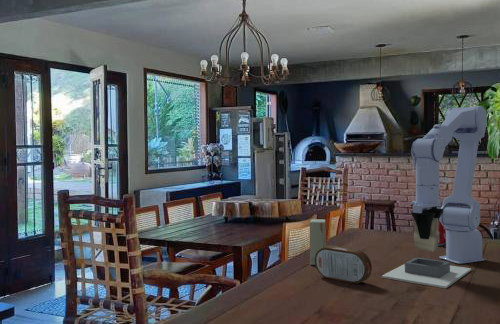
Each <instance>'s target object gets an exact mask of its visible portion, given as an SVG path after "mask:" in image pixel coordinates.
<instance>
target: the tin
mask: <svg viewBox="0 0 500 324" xmlns="http://www.w3.org/2000/svg"><path fill="white" fill-rule="evenodd" d="M314 266H315V268H316V270H317V272H318V273H319V275H321V276H322V277H323V278H325V279H328V280H335V281H339V282H343V283H348V282H349V284H353V283H355V284H356V285H357V284H360V283H362V282H365V281H366V280H368V279H369V278H370V276H371V274H372V271H373V266H372V262H371V259H370V257H369V255H368V254H367V253H366V252H364V251H363V250H361V249H358V248H354V247H347V246H339V245H333V244H326V246H324V247H323V248H321V249H319V250H318V251H317V253H316V255H315V265H314Z"/></svg>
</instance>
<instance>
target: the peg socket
mask: <svg viewBox="0 0 500 324" xmlns="http://www.w3.org/2000/svg"><path fill="white" fill-rule="evenodd" d="M471 271H472V268H471V267H470V268H469V267H465V266H464V267H463V266H458V265H457V266H455V265H451V261H447V260H446V261H445V260H437V259H431V258H424V257H418V256H415V257H414V258H411V259H410V260H408V261H405V263H404V264H402V265H400V266H398V267H395V268H394V269H392V270H390V271H388V272H385V273H384V274H383V275H381V278H382V279H383V278H384V279H389V280H395V281H399V282H405V283H412V284H416V285H423V286H427V287H428V286H430V287H434V288H441V289H447V288H449V287H450V286H452V285H453V284H455V282H457V281H458V280H459V279H462V278H463V277H464V276H466V275H467V274H468V273H469V272H471Z"/></svg>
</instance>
